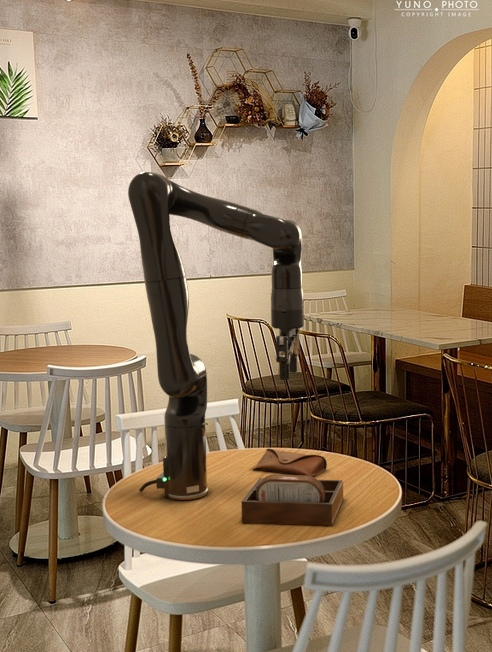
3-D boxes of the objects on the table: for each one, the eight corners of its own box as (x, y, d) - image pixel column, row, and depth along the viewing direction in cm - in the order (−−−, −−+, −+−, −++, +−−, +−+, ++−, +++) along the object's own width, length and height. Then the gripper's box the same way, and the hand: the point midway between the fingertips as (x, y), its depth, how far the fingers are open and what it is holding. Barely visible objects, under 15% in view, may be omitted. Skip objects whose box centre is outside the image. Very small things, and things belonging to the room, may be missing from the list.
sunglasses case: (250, 468, 224) (256, 443, 227) (262, 475, 230) (268, 451, 233) (312, 476, 218) (318, 450, 220) (323, 483, 224) (329, 458, 226)
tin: (325, 511, 191) (325, 474, 190) (323, 516, 188) (322, 479, 187) (258, 509, 193) (257, 472, 192) (254, 514, 190) (253, 477, 188)
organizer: (241, 523, 188) (241, 501, 187) (260, 497, 204) (259, 477, 203) (332, 525, 186) (331, 504, 185) (343, 500, 202) (343, 480, 201)
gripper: (278, 303, 209) (279, 370, 211) (264, 310, 195) (265, 381, 197) (309, 303, 208) (310, 370, 211) (297, 310, 194) (298, 382, 197)
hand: (288, 375), depth 204 cm, fingers open, 8 cm apart
